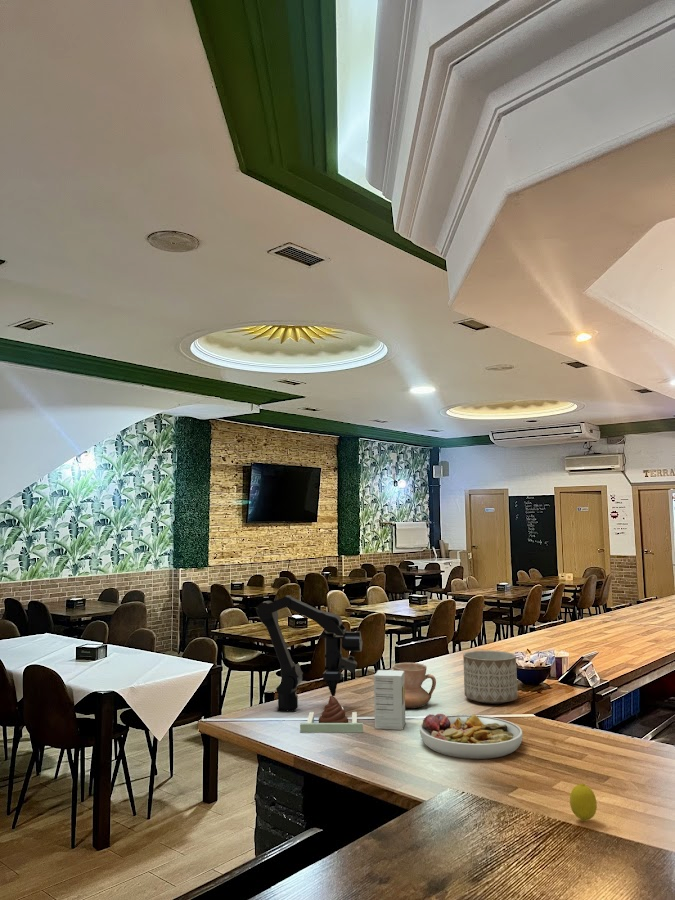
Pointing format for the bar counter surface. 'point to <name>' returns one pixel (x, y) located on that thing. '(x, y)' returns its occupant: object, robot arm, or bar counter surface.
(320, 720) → the poop emoji
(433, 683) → the ceramic jug
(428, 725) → the bowl
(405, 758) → the bar counter surface
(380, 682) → the supplement box
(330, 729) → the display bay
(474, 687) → the planter
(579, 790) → the lemon
